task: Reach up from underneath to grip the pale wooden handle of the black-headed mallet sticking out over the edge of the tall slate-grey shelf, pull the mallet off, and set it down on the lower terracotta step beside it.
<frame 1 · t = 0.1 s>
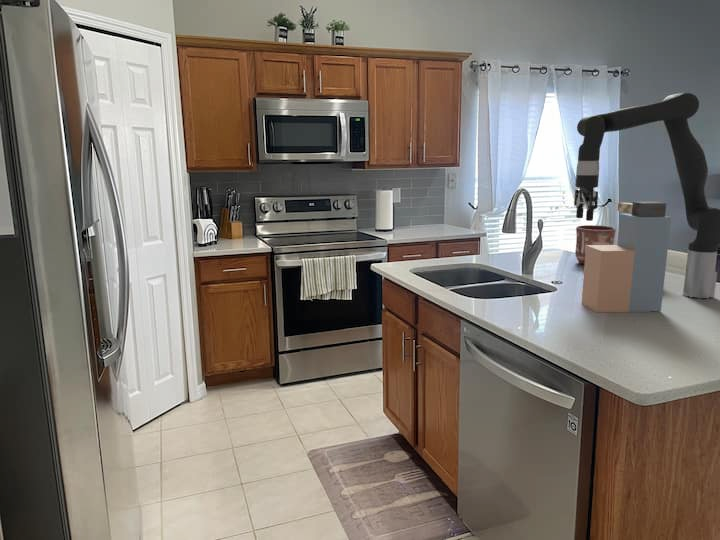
hand: (584, 219, 199), 29 cm above the worktop, tool pointing down, fingers open, 8 cm apart
step stand: (620, 307, 191), on the worktop
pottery: (592, 264, 266), on the worktop
mallet: (636, 213, 190), point 32 cm above the worktop, touching step stand
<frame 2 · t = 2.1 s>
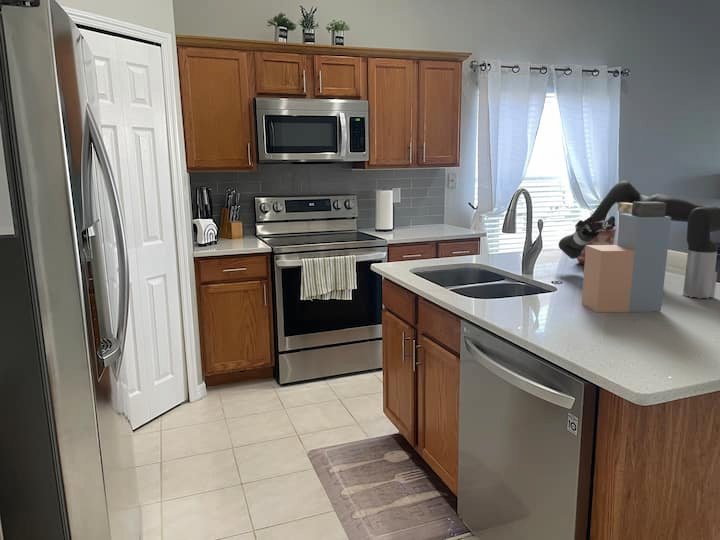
hand: (602, 218, 215), 28 cm above the worktop, tool pointing upward, fingers open, 8 cm apart
nothing on the worktop moved.
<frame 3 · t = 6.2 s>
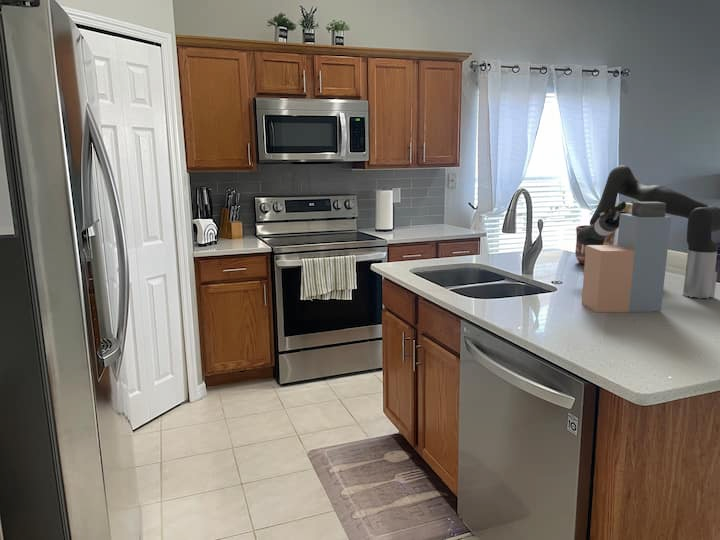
hand: (629, 203, 194), 35 cm above the worktop, tool pointing upward, fingers closed on mallet, 3 cm apart
mallet: (636, 213, 190), point 32 cm above the worktop, touching gripper, step stand
everything else where it was.
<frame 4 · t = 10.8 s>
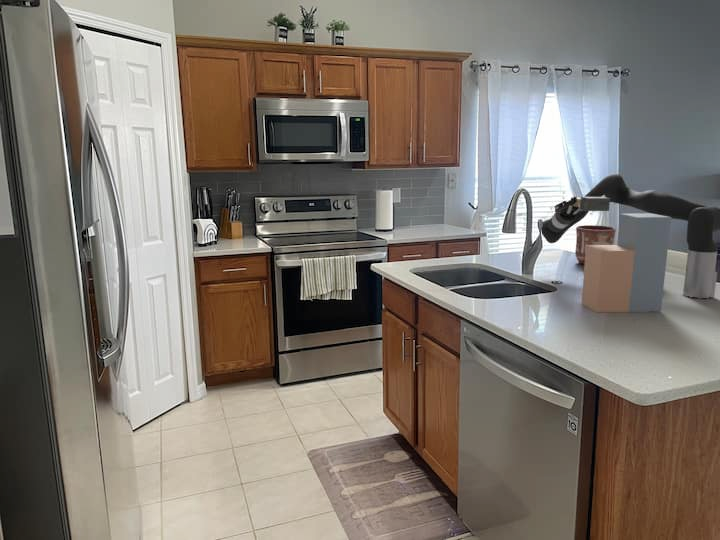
hand: (580, 198, 210), 36 cm above the worktop, tool pointing upward, fingers closed on mallet, 3 cm apart
mallet: (585, 207, 205), point 33 cm above the worktop, touching gripper
everything else where it was.
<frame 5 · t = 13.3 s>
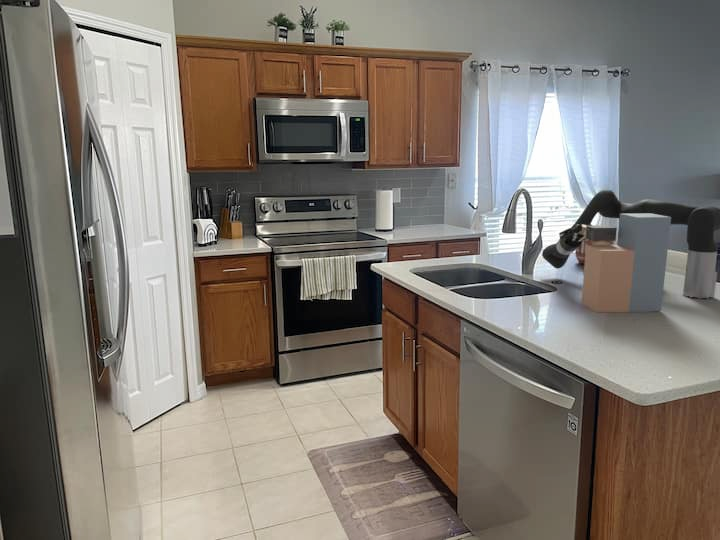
hand: (586, 226, 205), 26 cm above the worktop, tool pointing upward, fingers closed on mallet, 3 cm apart
mallet: (591, 236, 201), point 23 cm above the worktop, touching gripper
everything else where it was.
when the fingers open (26 cm above the worktop, at t = 15.2 s): mallet drops 2 cm, resting on step stand.
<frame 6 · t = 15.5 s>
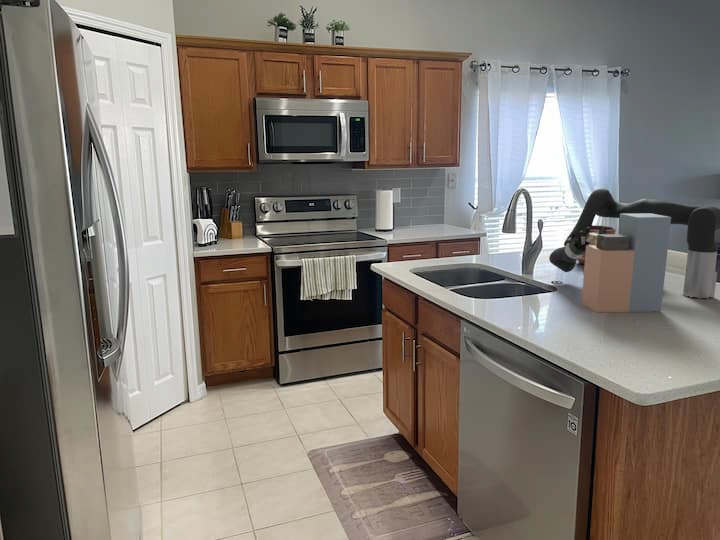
hand: (596, 229, 196), 26 cm above the worktop, tool pointing upward, fingers open, 5 cm apart
mallet: (601, 245, 192), point 21 cm above the worktop, touching step stand
everything else where it was.
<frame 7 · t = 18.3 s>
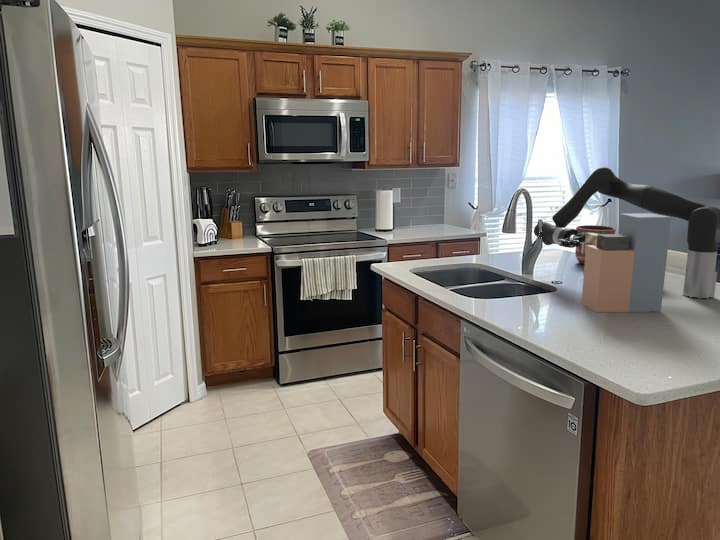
hand: (589, 241, 206), 20 cm above the worktop, tool horizontal, fingers open, 8 cm apart
nothing on the worktop moved.
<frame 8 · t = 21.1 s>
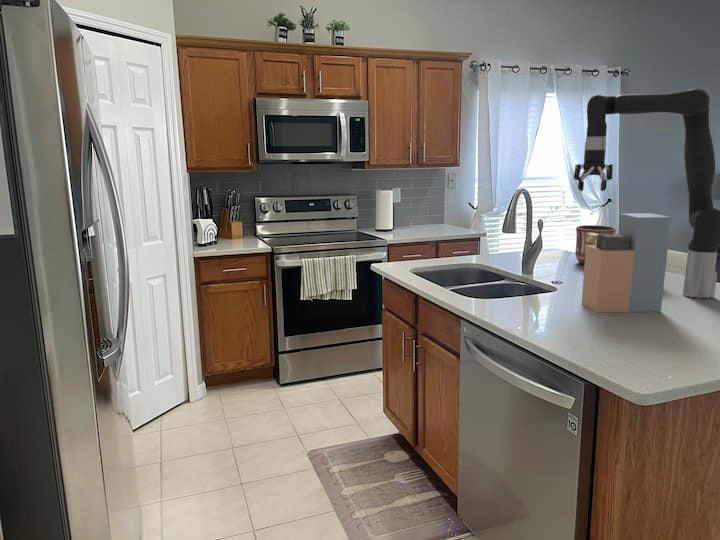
hand: (591, 190, 217), 38 cm above the worktop, tool pointing down, fingers open, 8 cm apart
nothing on the worktop moved.
at the end: mallet inside the target area on the step stand (0.1 cm from its centre), point 21.0 cm above the step stand's base; mallet tilted 0°; the gripper is holding nothing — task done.
